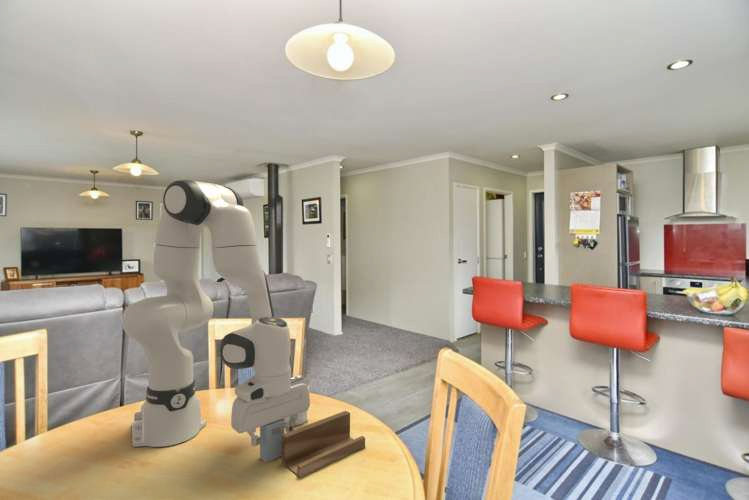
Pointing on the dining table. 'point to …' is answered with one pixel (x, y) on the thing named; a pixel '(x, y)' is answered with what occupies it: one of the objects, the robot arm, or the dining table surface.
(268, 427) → the cabinet block
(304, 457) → the cleat board
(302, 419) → the white cup
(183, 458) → the dining table surface
